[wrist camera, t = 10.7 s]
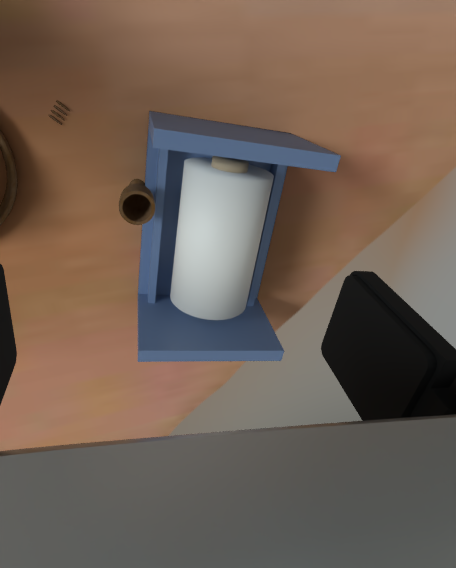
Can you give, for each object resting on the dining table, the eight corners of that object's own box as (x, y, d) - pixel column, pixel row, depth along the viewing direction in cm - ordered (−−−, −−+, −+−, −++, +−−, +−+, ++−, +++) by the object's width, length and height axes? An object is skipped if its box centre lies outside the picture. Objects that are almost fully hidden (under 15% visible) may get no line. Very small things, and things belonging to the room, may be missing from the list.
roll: (179, 145, 29) (193, 164, 23) (258, 155, 30) (289, 175, 25) (165, 285, 34) (174, 327, 29) (233, 286, 36) (254, 326, 31)
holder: (149, 111, 28) (154, 128, 20) (290, 133, 31) (340, 155, 23) (137, 297, 35) (137, 361, 28) (252, 301, 38) (281, 360, 31)
